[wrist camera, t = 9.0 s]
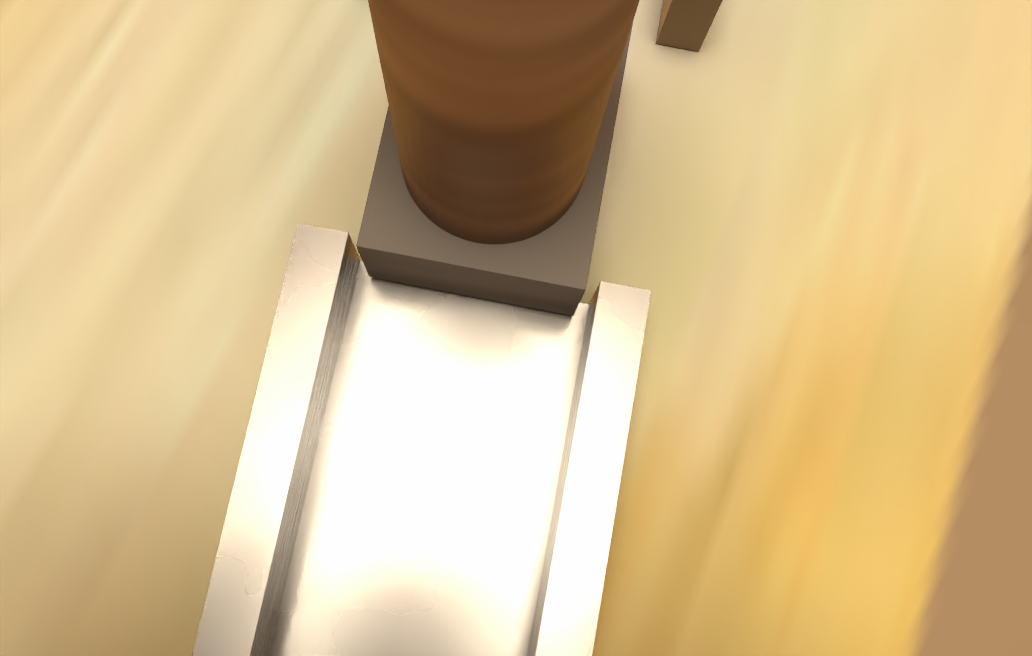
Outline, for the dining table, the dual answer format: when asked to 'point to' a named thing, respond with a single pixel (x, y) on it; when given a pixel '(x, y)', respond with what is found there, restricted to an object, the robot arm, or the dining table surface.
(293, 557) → the track
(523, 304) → the slider
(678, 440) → the dining table surface
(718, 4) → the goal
